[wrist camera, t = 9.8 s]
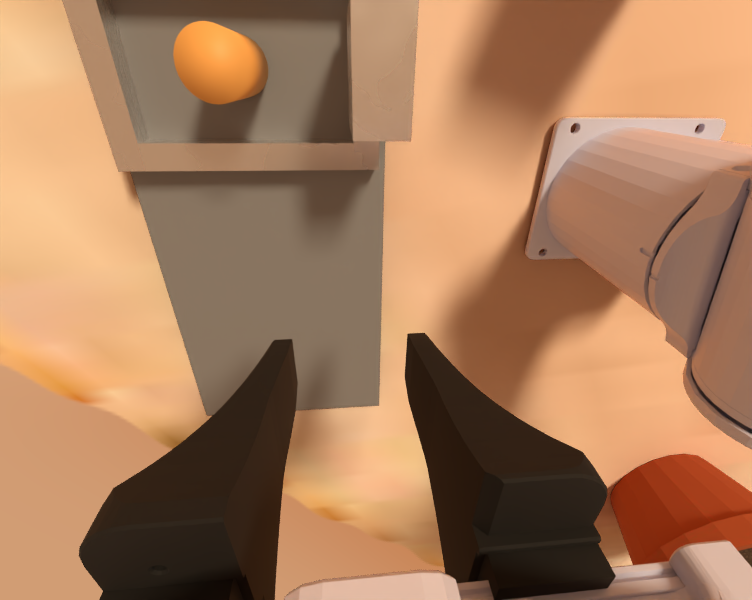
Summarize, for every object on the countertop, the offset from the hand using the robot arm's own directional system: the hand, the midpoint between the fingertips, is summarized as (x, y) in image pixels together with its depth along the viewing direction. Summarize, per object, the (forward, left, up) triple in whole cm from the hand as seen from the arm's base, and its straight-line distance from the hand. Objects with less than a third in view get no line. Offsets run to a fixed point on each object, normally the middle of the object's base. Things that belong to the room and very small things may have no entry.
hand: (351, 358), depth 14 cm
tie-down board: (+4, -1, -10) cm, 11 cm away
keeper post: (+4, -9, -10) cm, 14 cm away
